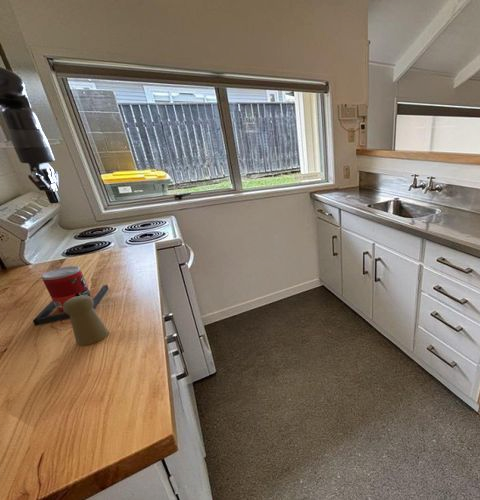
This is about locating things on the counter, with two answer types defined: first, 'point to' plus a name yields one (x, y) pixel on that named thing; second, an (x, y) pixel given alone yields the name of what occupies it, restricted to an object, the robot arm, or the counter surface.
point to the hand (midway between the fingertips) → (55, 202)
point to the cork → (85, 320)
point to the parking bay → (45, 318)
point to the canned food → (65, 285)
